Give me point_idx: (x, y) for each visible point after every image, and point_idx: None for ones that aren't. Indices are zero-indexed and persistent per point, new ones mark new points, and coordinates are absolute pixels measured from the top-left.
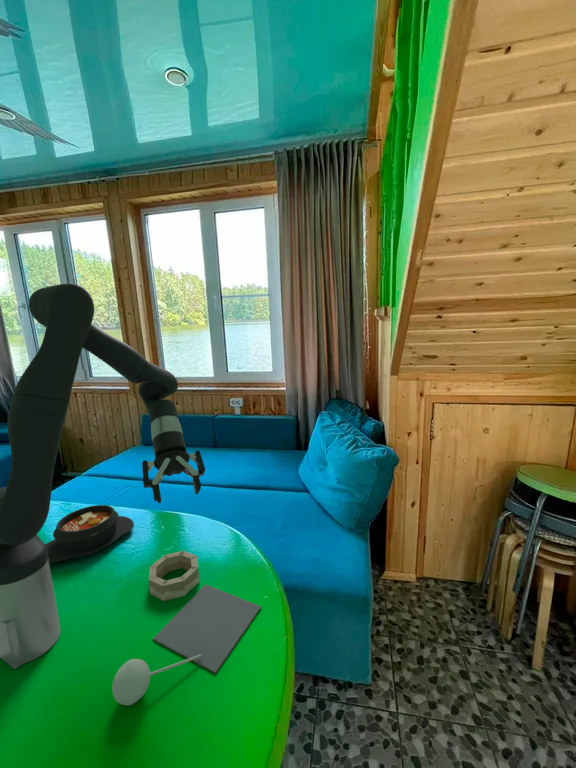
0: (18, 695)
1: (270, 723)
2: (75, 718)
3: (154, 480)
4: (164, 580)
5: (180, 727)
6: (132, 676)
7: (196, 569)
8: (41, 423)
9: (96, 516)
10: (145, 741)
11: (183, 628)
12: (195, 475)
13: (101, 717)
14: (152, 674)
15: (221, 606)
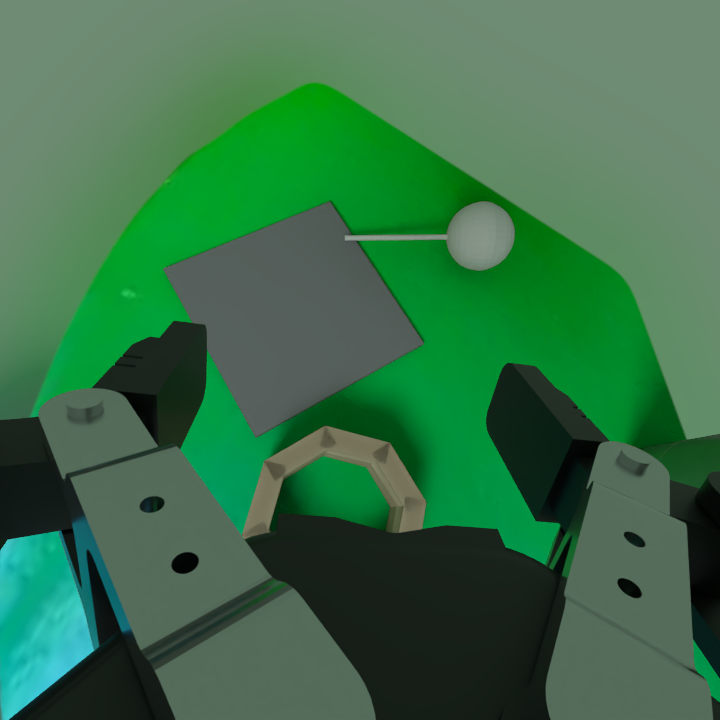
0: (649, 378)
1: (285, 98)
2: (550, 278)
3: (650, 477)
4: (381, 464)
5: (405, 171)
6: (488, 203)
7: (272, 456)
8: None
9: None
10: (453, 186)
11: (357, 325)
12: (115, 393)
13: (513, 255)
14: (442, 234)
15: (251, 330)
